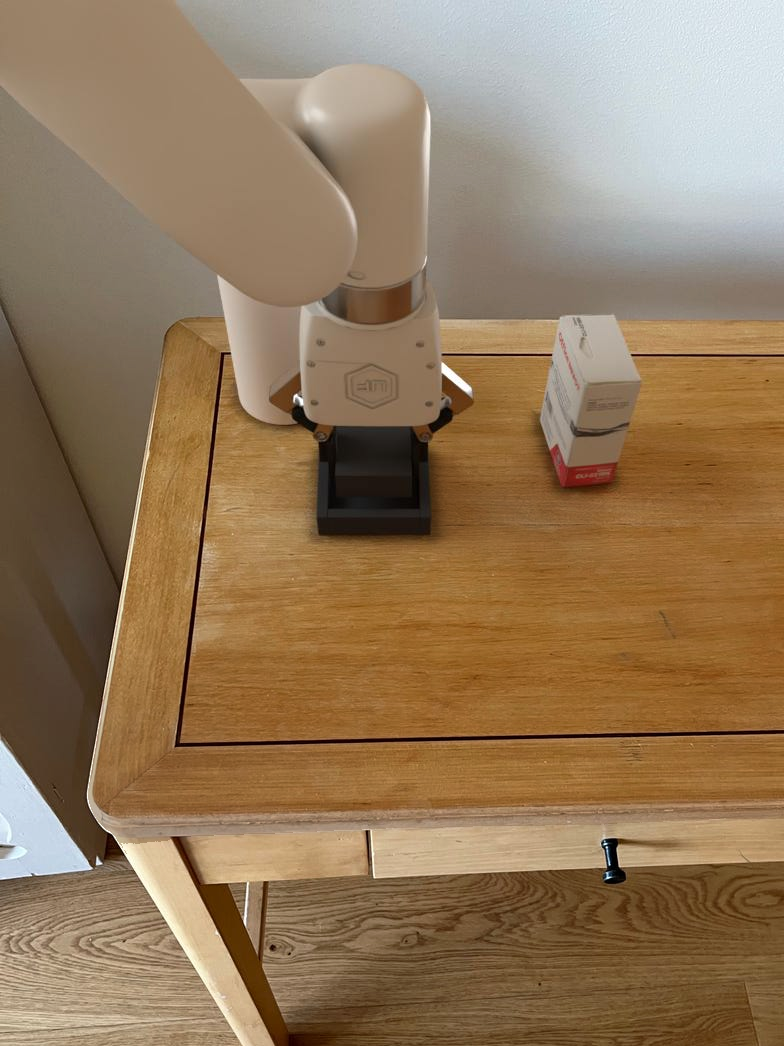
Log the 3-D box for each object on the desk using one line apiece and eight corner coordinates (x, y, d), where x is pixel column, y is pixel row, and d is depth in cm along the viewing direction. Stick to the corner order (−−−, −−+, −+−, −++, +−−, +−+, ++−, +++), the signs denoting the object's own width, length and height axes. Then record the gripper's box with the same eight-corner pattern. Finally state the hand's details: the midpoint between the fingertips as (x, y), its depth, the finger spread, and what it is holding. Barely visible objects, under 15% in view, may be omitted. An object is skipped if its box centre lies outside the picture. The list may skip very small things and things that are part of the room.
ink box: (614, 483, 84) (644, 380, 74) (560, 489, 83) (583, 385, 74) (589, 414, 89) (614, 308, 79) (538, 419, 88) (556, 312, 78)
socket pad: (318, 535, 79) (316, 517, 77) (320, 452, 84) (319, 433, 82) (430, 535, 80) (431, 517, 78) (426, 453, 85) (427, 434, 83)
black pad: (336, 497, 77) (335, 475, 75) (338, 443, 81) (336, 420, 78) (411, 497, 78) (412, 475, 76) (409, 443, 81) (410, 421, 79)
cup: (224, 413, 85) (193, 255, 72) (258, 353, 90) (234, 194, 76) (313, 433, 85) (298, 279, 71) (342, 372, 89) (333, 216, 76)
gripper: (232, 311, 61) (265, 499, 76) (502, 316, 62) (481, 499, 78) (240, 238, 65) (270, 431, 80) (494, 244, 66) (476, 432, 82)
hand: (374, 463), depth 79 cm, fingers closed on black pad, 5 cm apart
